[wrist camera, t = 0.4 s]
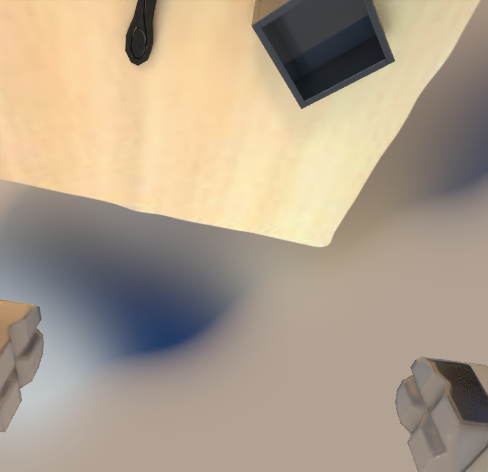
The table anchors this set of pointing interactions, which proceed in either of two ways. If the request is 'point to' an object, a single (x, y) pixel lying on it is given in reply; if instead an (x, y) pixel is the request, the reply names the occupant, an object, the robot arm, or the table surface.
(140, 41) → the hairbrush
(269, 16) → the holder
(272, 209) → the table surface
